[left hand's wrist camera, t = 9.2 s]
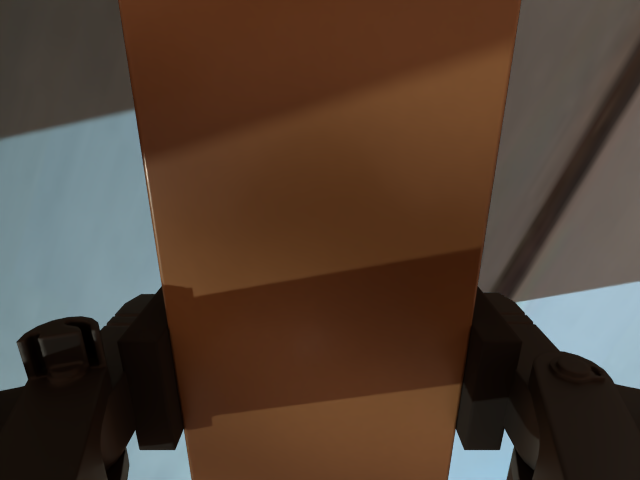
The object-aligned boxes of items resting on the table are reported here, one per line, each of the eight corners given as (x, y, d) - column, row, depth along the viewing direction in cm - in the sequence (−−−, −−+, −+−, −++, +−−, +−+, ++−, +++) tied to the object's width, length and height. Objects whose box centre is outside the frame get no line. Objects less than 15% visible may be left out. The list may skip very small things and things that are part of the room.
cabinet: (223, -173, 13) (-12, -822, 4) (415, -173, 13) (651, -822, 4) (255, 326, 19) (198, 537, 10) (383, 326, 19) (440, 537, 10)
